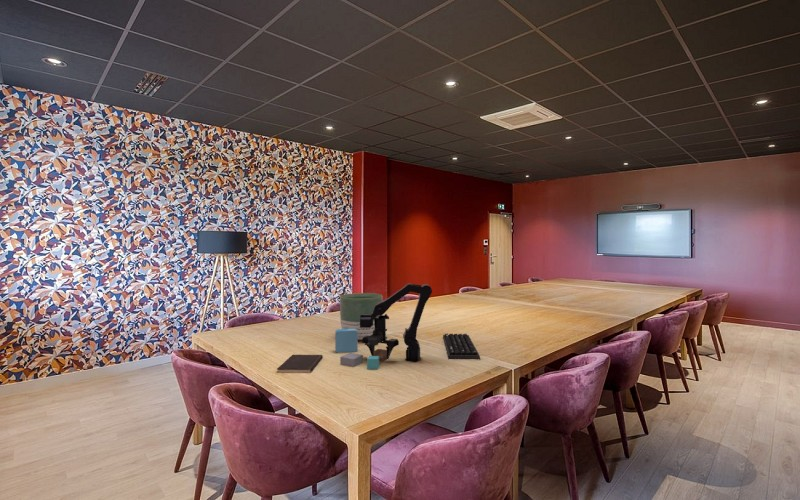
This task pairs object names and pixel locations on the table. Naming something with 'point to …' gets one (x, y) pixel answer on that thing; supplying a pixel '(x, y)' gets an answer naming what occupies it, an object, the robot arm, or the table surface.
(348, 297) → the planter
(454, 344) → the computer keyboard
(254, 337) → the table surface
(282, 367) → the hardcover book
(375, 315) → the robot arm
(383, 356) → the walnut cube
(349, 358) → the slate base block
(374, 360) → the teal cube
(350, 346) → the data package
